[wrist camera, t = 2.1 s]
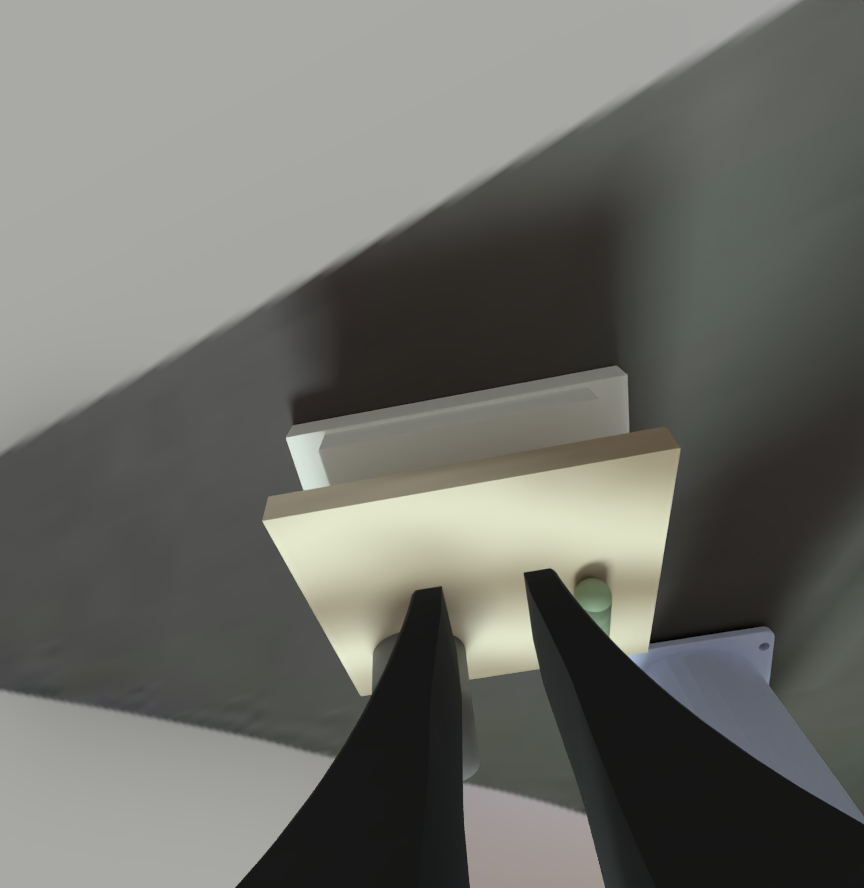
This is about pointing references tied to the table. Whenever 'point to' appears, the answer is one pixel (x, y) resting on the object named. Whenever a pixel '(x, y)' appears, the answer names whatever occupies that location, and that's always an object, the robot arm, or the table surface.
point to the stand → (461, 428)
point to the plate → (484, 551)
